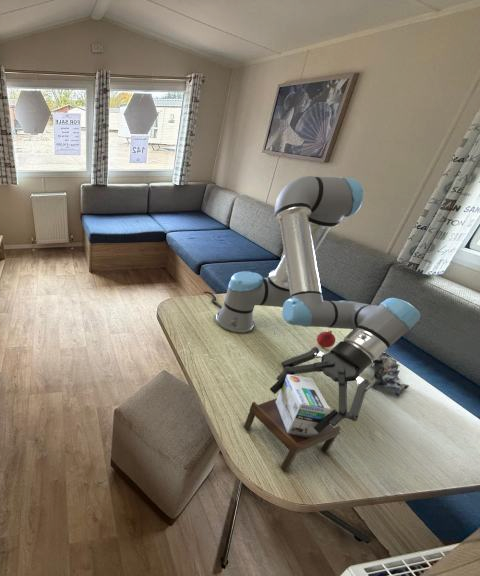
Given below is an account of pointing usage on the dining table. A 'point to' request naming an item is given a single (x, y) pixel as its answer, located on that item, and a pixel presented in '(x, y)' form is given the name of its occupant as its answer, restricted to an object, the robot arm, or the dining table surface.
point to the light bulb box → (301, 406)
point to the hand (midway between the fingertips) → (292, 409)
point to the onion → (326, 339)
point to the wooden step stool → (293, 443)
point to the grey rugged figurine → (384, 367)
